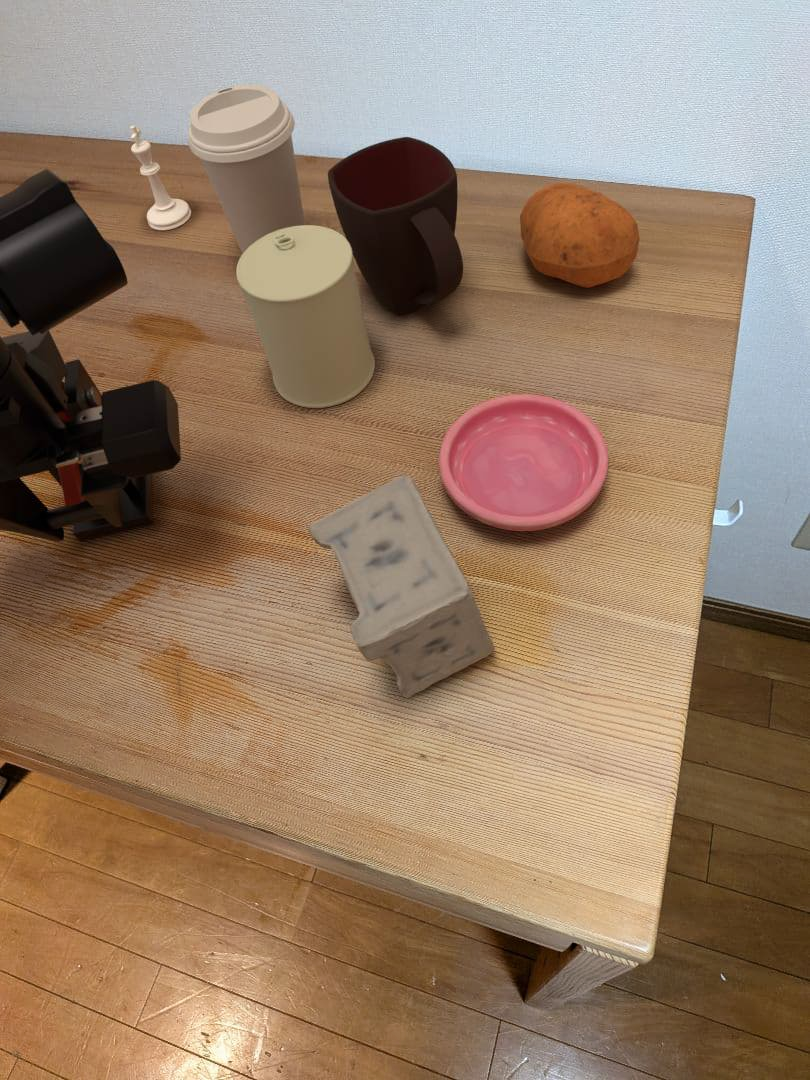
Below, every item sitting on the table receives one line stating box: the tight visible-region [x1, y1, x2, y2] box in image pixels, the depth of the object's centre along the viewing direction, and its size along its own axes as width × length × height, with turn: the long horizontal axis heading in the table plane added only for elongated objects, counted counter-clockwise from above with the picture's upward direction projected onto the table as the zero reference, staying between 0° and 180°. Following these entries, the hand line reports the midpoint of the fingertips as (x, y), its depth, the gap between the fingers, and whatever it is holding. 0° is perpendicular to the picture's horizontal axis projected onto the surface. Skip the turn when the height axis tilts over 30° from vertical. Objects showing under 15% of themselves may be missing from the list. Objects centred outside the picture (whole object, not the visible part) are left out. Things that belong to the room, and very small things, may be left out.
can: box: [235, 224, 376, 409], centre depth 61 cm, size 9×9×12 cm
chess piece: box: [129, 125, 192, 231], centre depth 79 cm, size 5×5×10 cm
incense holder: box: [308, 474, 496, 699], centre depth 47 cm, size 10×8×10 cm
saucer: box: [438, 393, 609, 532], centre depth 56 cm, size 12×12×3 cm
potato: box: [519, 182, 640, 288], centre depth 67 cm, size 9×11×8 cm
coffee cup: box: [187, 84, 306, 254], centre depth 70 cm, size 10×10×15 cm
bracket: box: [48, 358, 154, 542], centre depth 57 cm, size 9×6×12 cm, turn 12°
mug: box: [327, 136, 464, 316], centre depth 65 cm, size 10×14×12 cm
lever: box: [45, 380, 103, 530], centre depth 53 cm, size 10×4×2 cm, turn 13°
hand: (91, 528), depth 54 cm, fingers closed on lever, 4 cm apart
